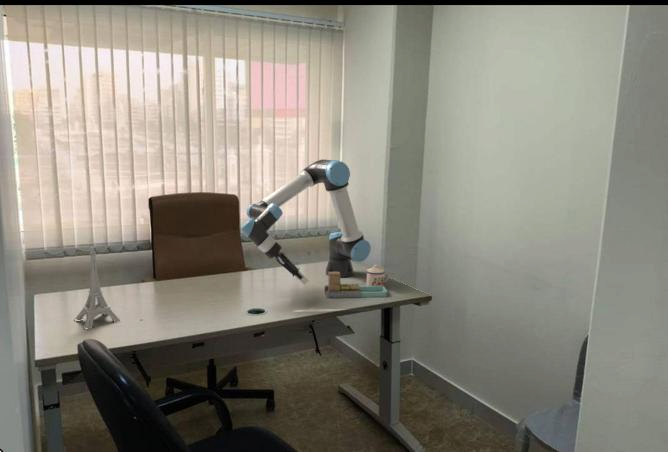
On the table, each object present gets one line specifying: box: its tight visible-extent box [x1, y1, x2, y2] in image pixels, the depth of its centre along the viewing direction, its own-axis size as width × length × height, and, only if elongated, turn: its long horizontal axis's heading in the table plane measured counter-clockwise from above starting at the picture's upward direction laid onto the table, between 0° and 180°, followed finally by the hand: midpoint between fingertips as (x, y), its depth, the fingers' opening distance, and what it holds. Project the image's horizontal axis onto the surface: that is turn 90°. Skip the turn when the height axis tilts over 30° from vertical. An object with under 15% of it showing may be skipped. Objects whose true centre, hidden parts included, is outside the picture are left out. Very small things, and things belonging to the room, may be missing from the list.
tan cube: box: [340, 283, 350, 291], centre depth 233 cm, size 4×4×4 cm
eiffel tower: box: [74, 246, 121, 328], centre depth 194 cm, size 13×13×30 cm
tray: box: [359, 285, 389, 298], centre depth 234 cm, size 10×12×3 cm
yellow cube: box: [349, 283, 360, 291], centre depth 233 cm, size 4×4×4 cm
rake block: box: [327, 272, 341, 291], centre depth 232 cm, size 5×5×10 cm
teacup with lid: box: [365, 264, 389, 287], centre depth 246 cm, size 12×9×12 cm
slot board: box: [324, 284, 363, 299], centre depth 233 cm, size 12×16×4 cm
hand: (306, 282), depth 229 cm, fingers closed
